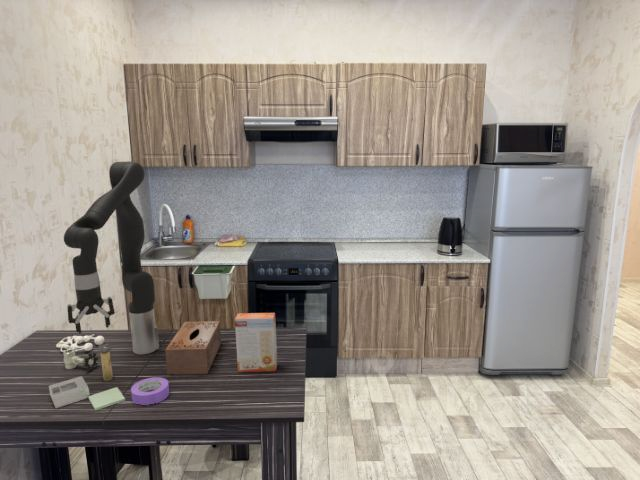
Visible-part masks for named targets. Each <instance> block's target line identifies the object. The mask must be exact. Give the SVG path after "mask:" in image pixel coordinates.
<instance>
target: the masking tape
mask: <svg viewBox="0 0 640 480" xmlns="http://www.w3.org/2000/svg"><path fill="white" fill-rule="evenodd" d="M169 384H170V383H169V380H168V379H167V378H165V377H157V376H156V377H155V376H154V377H153V376H152V377H148V378H145V379H141V380H139V381H137V382H136V383H134V384H133V385H132V386H131V387H130V388H131V389H130V394H131V402H132V403H133V402H134V403H136V404H141V405H147V406H150V405H149V404H153V405H155V404H154V403H156V404H159V403H161V402H163V401H164V400H166V399H167V398H168V397H169V396H170V385H169ZM151 390H152V391H151ZM158 402H159V403H158ZM134 403H133V404H134ZM136 404H135V405H136ZM141 405H140V406H141Z"/></svg>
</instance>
